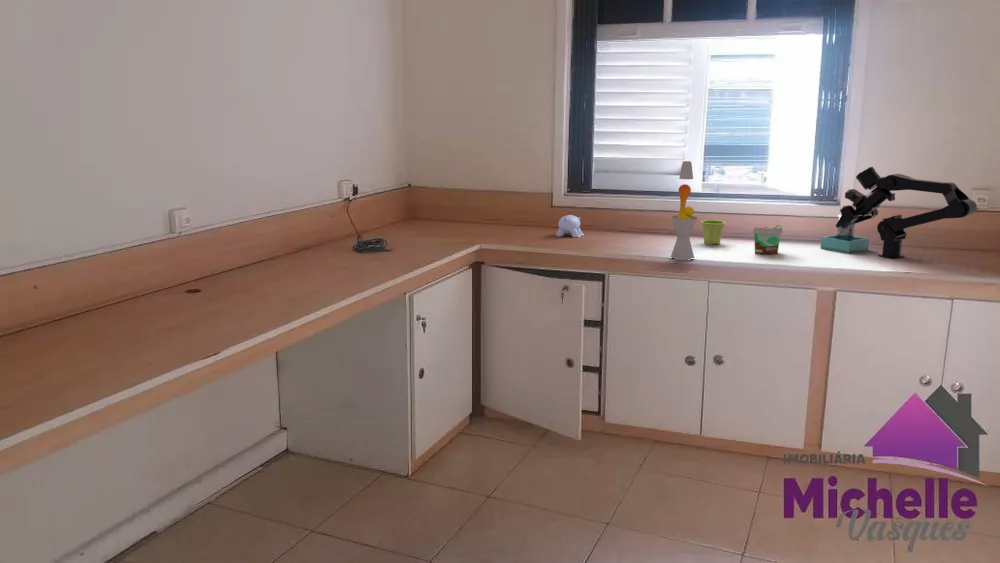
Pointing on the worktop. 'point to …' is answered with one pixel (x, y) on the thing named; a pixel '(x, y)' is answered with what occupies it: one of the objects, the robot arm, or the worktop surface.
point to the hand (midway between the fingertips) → (842, 225)
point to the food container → (767, 240)
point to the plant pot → (712, 231)
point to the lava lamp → (684, 218)
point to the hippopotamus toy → (569, 226)
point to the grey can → (846, 231)
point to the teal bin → (844, 244)
